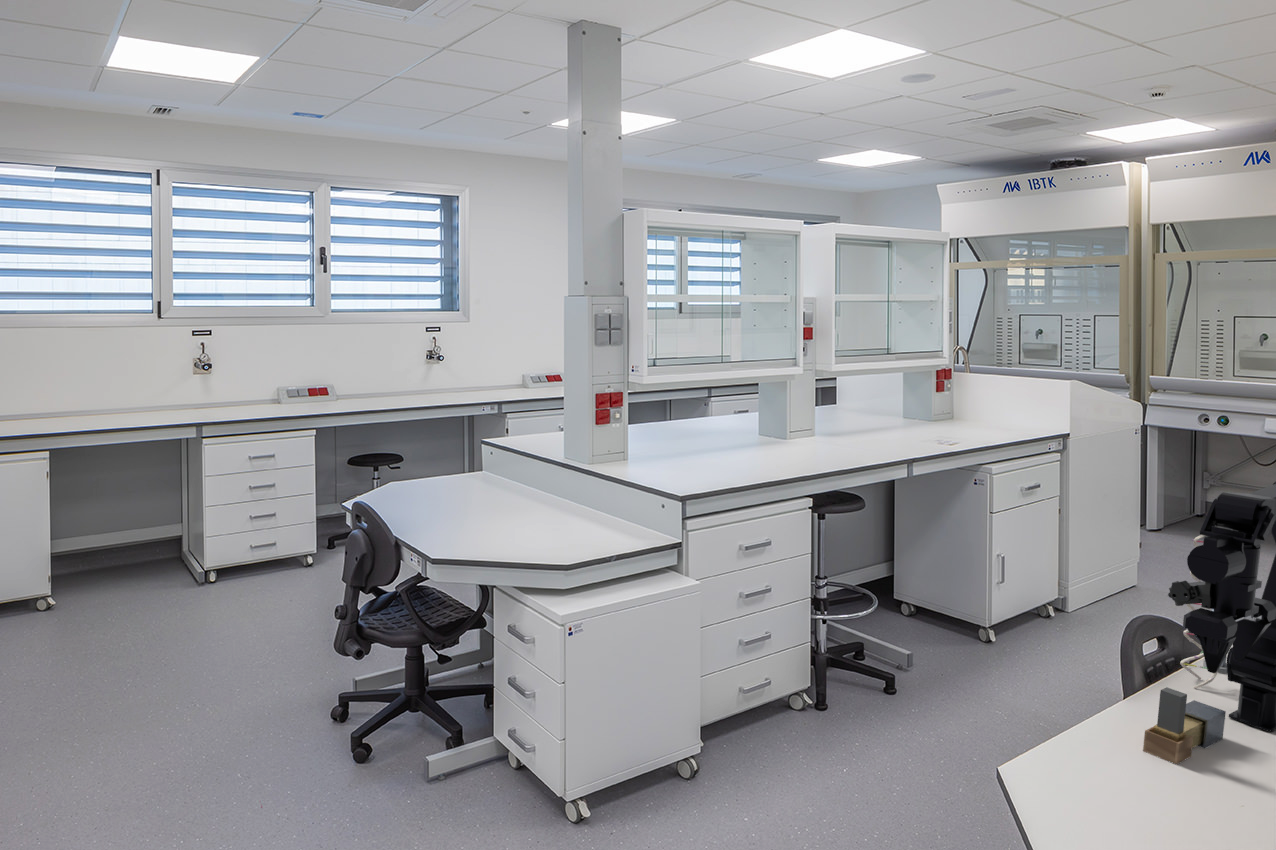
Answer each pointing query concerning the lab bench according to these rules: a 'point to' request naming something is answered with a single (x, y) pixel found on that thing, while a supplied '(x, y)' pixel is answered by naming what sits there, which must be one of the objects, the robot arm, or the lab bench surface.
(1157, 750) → the socket
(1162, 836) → the lab bench surface
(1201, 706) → the grey end cap
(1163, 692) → the grey and tan block
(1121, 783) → the lab bench surface
